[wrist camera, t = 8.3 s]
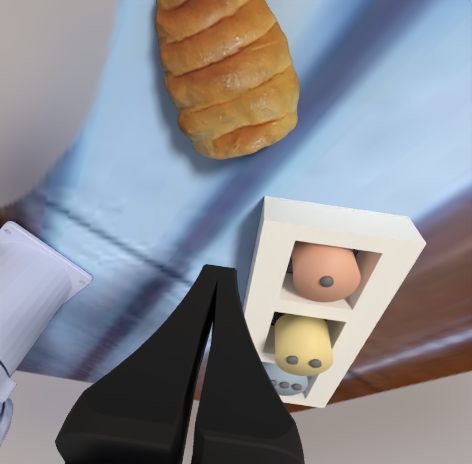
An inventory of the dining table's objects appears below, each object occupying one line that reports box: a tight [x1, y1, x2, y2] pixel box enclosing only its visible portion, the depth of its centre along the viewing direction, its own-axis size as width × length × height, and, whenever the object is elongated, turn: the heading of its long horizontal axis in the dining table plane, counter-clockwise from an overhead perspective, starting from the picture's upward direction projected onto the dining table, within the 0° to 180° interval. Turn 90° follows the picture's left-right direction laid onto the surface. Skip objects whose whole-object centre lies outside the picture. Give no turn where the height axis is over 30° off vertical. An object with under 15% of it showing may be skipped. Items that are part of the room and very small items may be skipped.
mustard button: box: [275, 313, 333, 376], centre depth 25 cm, size 4×4×3 cm
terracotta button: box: [291, 241, 361, 302], centre depth 22 cm, size 4×4×3 cm
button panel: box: [243, 196, 426, 408], centre depth 26 cm, size 22×10×3 cm, turn 173°
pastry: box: [155, 0, 300, 160], centre depth 15 cm, size 9×7×4 cm
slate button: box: [262, 362, 308, 396], centre depth 30 cm, size 4×4×3 cm
